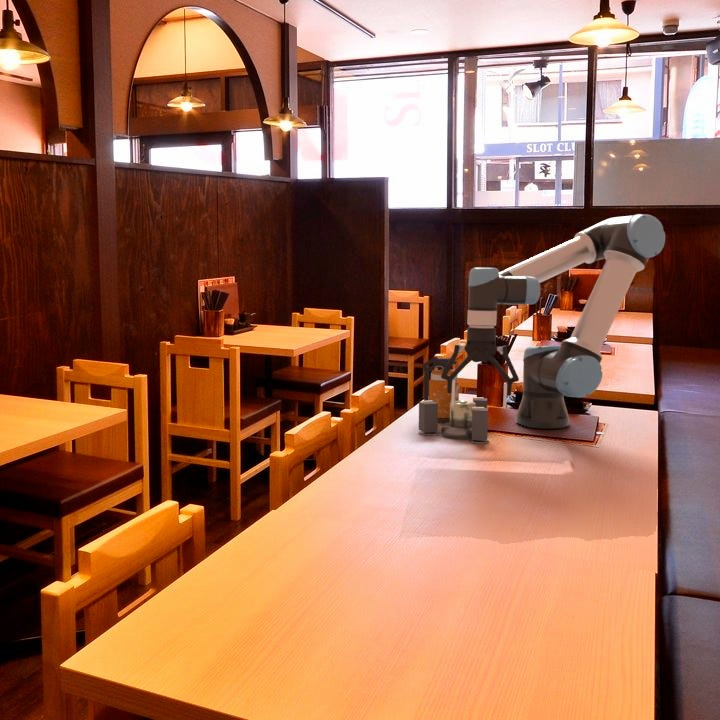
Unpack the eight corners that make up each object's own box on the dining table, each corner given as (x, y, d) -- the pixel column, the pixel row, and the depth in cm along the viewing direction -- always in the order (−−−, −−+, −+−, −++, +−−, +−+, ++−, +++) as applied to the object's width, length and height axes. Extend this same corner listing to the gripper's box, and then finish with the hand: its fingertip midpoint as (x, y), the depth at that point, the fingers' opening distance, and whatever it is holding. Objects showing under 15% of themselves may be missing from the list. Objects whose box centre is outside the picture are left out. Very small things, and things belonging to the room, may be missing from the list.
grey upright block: (431, 428, 219) (432, 399, 218) (437, 431, 215) (437, 401, 214) (418, 429, 217) (418, 400, 216) (423, 432, 214) (424, 402, 213)
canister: (457, 426, 226) (458, 358, 224) (419, 425, 228) (420, 358, 226) (459, 421, 235) (460, 355, 233) (423, 419, 237) (424, 354, 235)
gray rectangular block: (486, 437, 208) (487, 406, 207) (487, 440, 204) (487, 408, 203) (471, 436, 208) (472, 405, 207) (471, 440, 204) (472, 408, 203)
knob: (486, 425, 224) (487, 396, 223) (486, 428, 220) (487, 398, 219) (472, 425, 224) (472, 396, 223) (472, 427, 220) (472, 398, 220)
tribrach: (488, 428, 224) (489, 395, 223) (489, 444, 203) (490, 408, 202) (421, 425, 227) (421, 393, 226) (415, 441, 206) (415, 406, 205)
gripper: (529, 327, 204) (525, 406, 207) (434, 324, 208) (432, 402, 210) (531, 329, 197) (527, 411, 199) (433, 326, 201) (430, 406, 203)
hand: (478, 406), depth 205 cm, fingers open, 13 cm apart
